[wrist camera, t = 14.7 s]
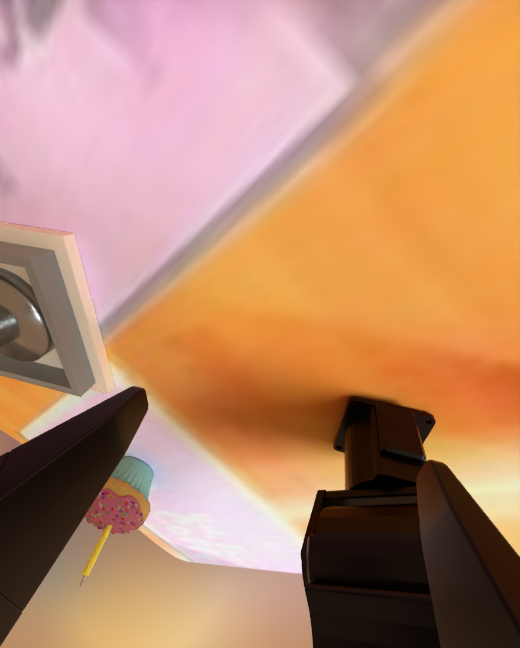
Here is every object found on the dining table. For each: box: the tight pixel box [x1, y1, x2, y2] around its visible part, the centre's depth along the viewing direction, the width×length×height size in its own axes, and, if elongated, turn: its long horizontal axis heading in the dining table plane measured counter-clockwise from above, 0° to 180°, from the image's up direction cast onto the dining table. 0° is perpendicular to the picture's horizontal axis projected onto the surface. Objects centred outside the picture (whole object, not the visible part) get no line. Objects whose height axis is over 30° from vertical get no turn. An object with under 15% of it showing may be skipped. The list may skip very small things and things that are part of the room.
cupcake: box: [80, 457, 153, 586], centre depth 33 cm, size 9×8×12 cm
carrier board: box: [0, 222, 115, 397], centre depth 26 cm, size 16×16×3 cm
